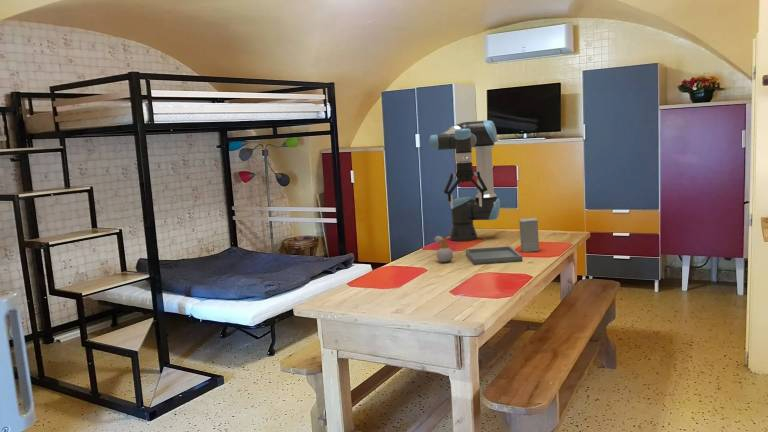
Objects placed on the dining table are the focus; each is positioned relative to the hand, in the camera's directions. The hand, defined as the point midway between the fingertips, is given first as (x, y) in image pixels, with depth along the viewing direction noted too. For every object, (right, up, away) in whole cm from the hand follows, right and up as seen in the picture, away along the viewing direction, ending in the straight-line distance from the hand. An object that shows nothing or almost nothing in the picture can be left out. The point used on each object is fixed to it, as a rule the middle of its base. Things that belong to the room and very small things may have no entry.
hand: (466, 207), depth 289 cm
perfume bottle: (-11, -26, +1) cm, 28 cm away
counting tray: (+13, -24, +2) cm, 27 cm away
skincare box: (+33, -21, +12) cm, 41 cm away
